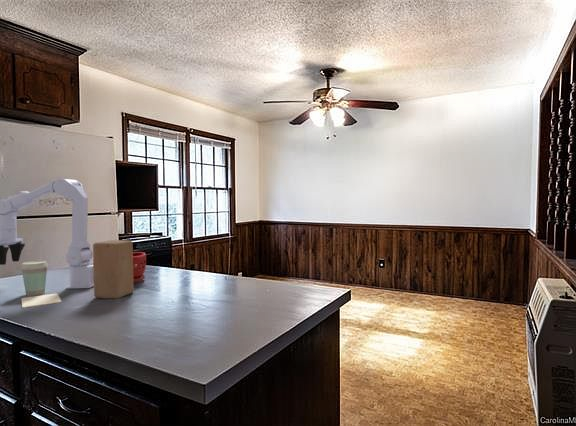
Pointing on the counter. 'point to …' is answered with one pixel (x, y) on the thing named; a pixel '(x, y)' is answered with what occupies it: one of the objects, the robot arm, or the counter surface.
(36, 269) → the coffee cup
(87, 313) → the counter surface
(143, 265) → the plant pot
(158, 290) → the counter surface
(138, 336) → the counter surface
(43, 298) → the mat
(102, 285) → the wooden block
